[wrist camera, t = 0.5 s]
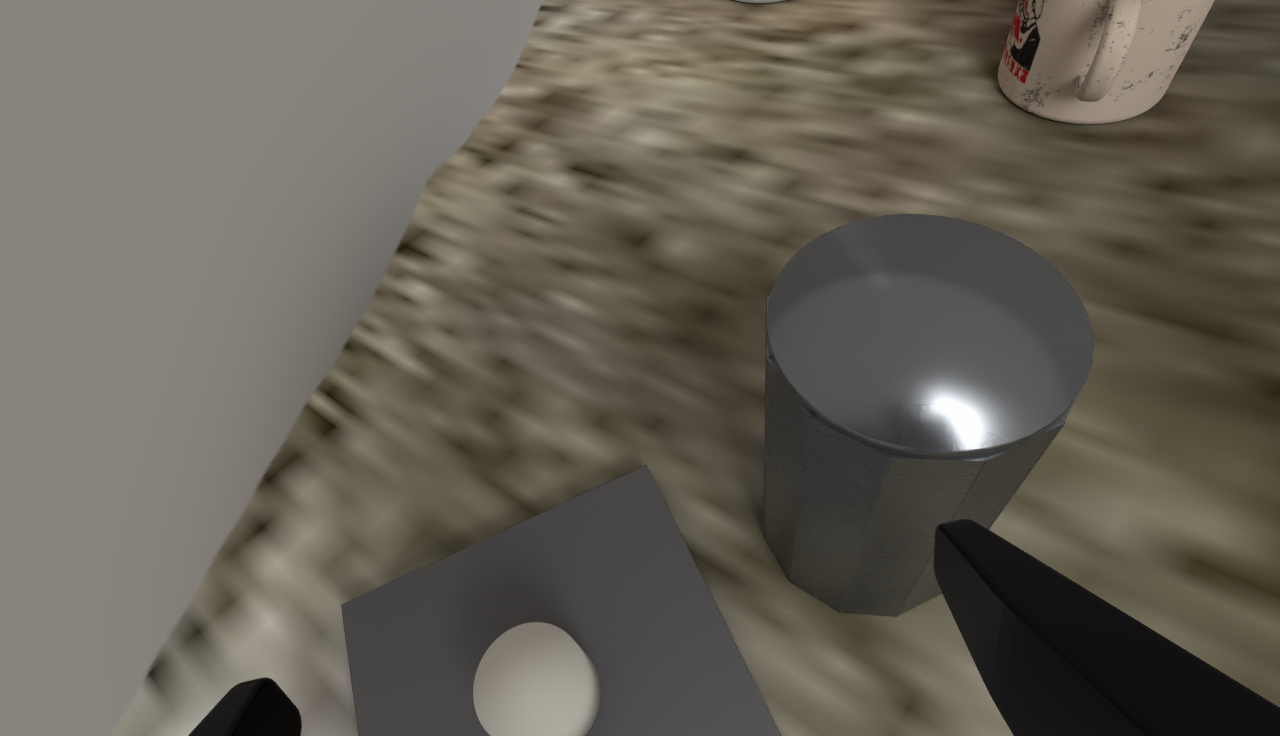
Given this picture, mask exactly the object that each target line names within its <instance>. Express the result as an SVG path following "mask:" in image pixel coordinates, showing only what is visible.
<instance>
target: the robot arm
mask: <svg viewBox="0 0 1280 736" xmlns="http://www.w3.org/2000/svg"><path fill="white" fill-rule="evenodd" d="M934 573H935V577H936V580H937V582H938V585H939V587H940V589H941V591H942V593H943V596H944V598H945V600H946V602H947V604H948V606H949V608H950V611H951V613H952V615H953V617H954V619H955V621H956V624H957V626H958V628H959V630H960V632H961V634H962V636H963V639H964V641H965V643H966V645H967V647H968V649H969V651H970V654H971V656H972V658H973V660H974V662H975V664H976V666H977V669H978V671H979V673H980V675H981V677H982V679H983V681H984V683H985V685H986V687H987V689H988V691H989V694H990V695H991V697H992V699H993V701H994V703H995V704H996V706H997V708H998V710H999V711H1000V713H1001V715H1002V717H1003V718H1004V720H1005V722H1006V723H1007V725H1008V727H1009V728H1010V730H1011V732H1012V733H1013V735H1014V736H1280V708H1279V707H1278V706H1276V705H1274V704H1273V703H1271V702H1270V701H1268V700H1266V699H1265V698H1263V697H1261V696H1260V695H1258V694H1256V693H1255V692H1253V691H1252V690H1250V689H1248V688H1247V687H1245V686H1243V685H1242V684H1240V683H1238V682H1237V681H1235V680H1234V679H1232V678H1230V677H1229V676H1227V675H1225V674H1224V673H1222V672H1220V671H1219V670H1217V669H1216V668H1214V667H1212V666H1211V665H1209V664H1207V663H1206V662H1204V661H1203V660H1201V659H1199V658H1198V657H1196V656H1194V655H1193V654H1191V653H1189V652H1188V651H1186V650H1185V649H1183V648H1181V647H1180V646H1178V645H1176V644H1175V643H1173V642H1171V641H1170V640H1168V639H1167V638H1165V637H1163V636H1162V635H1160V634H1158V633H1157V632H1155V631H1153V630H1152V629H1150V628H1149V627H1147V626H1145V625H1144V624H1142V623H1140V622H1139V621H1137V620H1135V619H1134V618H1132V617H1131V616H1129V615H1127V614H1126V613H1124V612H1122V611H1121V610H1119V609H1117V608H1116V607H1114V606H1113V605H1111V604H1109V603H1108V602H1106V601H1104V600H1103V599H1101V598H1099V597H1098V596H1096V595H1095V594H1093V593H1091V592H1090V591H1088V590H1086V589H1085V588H1083V587H1082V586H1080V585H1078V584H1077V583H1075V582H1073V581H1072V580H1070V579H1068V578H1067V577H1065V576H1064V575H1062V574H1060V573H1059V572H1057V571H1055V570H1054V569H1052V568H1050V567H1049V566H1047V565H1046V564H1044V563H1042V562H1041V561H1039V560H1037V559H1036V558H1034V557H1032V556H1031V555H1029V554H1028V553H1026V552H1024V551H1023V550H1021V549H1019V548H1018V547H1016V546H1014V545H1013V544H1011V543H1010V542H1008V541H1006V540H1005V539H1003V538H1001V537H1000V536H998V535H996V534H995V533H993V532H992V531H990V530H988V529H987V528H985V527H983V526H982V525H980V524H978V523H977V522H975V521H973V520H971V519H966V518H965V519H958V520H954V521H949V522H945V523H941V524H939V525H938V526H937V528H936V530H935V543H934ZM301 727H302V724H301V716H300V713H299V710H298V709H297V707H296V706H295V705H294V704H293V702H292V701H291V700H290V699H289V698H288V697H287V695H286V694H285V693H284V692H283V691H282V690H281V688H280V687H279V686H278V685H277V684H276V682H274V681H273V680H272V679H270V678H260V679H255V680H251V681H246V682H242V683H240V684H237V685H236V686H234V687H233V688H232V689H231V690H230V691H229V692H228V693H227V694H226V695H225V696H224V697H223V698H222V699H221V700H220V701H219V703H218V704H217V705H216V706H215V707H214V708H213V709H212V710H211V711H210V712H209V714H208V715H207V716H206V717H205V718H204V719H203V720H202V721H201V722H200V723H199V725H198V726H197V727H196V728H195V729H194V730H193V731H192V732H191V733H190V734H189V735H188V736H301Z"/></svg>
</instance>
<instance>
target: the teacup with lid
mask: <svg viewBox="0 0 1280 736" xmlns="http://www.w3.org/2000/svg"><path fill="white" fill-rule="evenodd" d="M1214 1H1215V0H1019V3H1018V6H1017V10H1016V13H1015V16H1014V19H1013V23H1012V26H1011V29H1010V32H1009V36H1008V39H1007V42H1006V45H1005V49H1004V52H1003V55H1002V59H1001V62H1000V65H999V68H998V82H999V85H1000V88H1001V89H1002V91H1003V93H1004V94H1005V95H1006V96H1007V98H1009V99H1010V100H1011V101H1012V102H1013V103H1014V104H1016V105H1017V106H1019V107H1020V108H1022V109H1024V110H1026V111H1028V112H1030V113H1032V114H1034V115H1037V116H1040V117H1043V118H1046V119H1050V120H1054V121H1059V122H1065V123H1073V124H1104V123H1112V122H1117V121H1122V120H1126V119H1129V118H1132V117H1135V116H1137V115H1139V114H1141V113H1143V112H1145V111H1147V110H1149V109H1150V108H1152V107H1153V106H1154V105H1155V104H1156V103H1158V102H1159V100H1160V99H1161V98H1162V97H1163V95H1164V94H1165V92H1166V90H1167V88H1168V86H1169V85H1170V83H1171V81H1172V79H1173V77H1174V75H1175V73H1176V71H1177V70H1178V68H1179V66H1180V64H1181V62H1182V60H1183V58H1184V57H1185V55H1186V53H1187V51H1188V49H1189V47H1190V45H1191V43H1192V42H1193V40H1194V38H1195V36H1196V34H1197V32H1198V30H1199V29H1200V27H1201V25H1202V23H1203V21H1204V19H1205V17H1206V16H1207V14H1208V12H1209V10H1210V8H1211V6H1212V4H1213V2H1214Z"/></svg>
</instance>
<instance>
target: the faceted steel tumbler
mask: <svg viewBox="0 0 1280 736" xmlns="http://www.w3.org/2000/svg"><path fill="white" fill-rule="evenodd" d="M1093 349H1094V348H1093V333H1092V329H1091V325H1090V321H1089V317H1088V314H1087V312H1086V310H1085V308H1084V306H1083V303H1082V301H1081V299H1080V298H1079V296H1078V295H1077V293H1076V292H1075V290H1074V288H1073V287H1072V286H1071V284H1070V283H1069V282H1068V281H1067V280H1066V279H1065V277H1064V276H1063V275H1062V274H1061V273H1060V272H1059V271H1058V270H1057V269H1056V268H1055V267H1054V266H1053V265H1052V264H1051V263H1049V262H1048V261H1047V260H1046V259H1045V258H1043V257H1042V256H1041V255H1039V254H1038V253H1037V252H1035V251H1034V250H1032V249H1031V248H1029V247H1028V246H1026V245H1024V244H1022V243H1021V242H1019V241H1017V240H1016V239H1014V238H1011V237H1009V236H1007V235H1005V234H1003V233H1001V232H998V231H996V230H993V229H990V228H988V227H985V226H982V225H979V224H976V223H972V222H968V221H964V220H961V219H955V218H949V217H944V216H935V215H925V214H898V215H885V216H879V217H873V218H867V219H863V220H860V221H856V222H852V223H849V224H846V225H844V226H841V227H838V228H835V229H833V230H831V231H829V232H827V233H825V234H823V235H821V236H819V237H818V238H816V239H815V240H813V241H812V242H810V243H809V244H807V245H806V246H805V247H804V248H802V249H801V250H800V251H799V252H798V253H796V254H795V255H794V257H793V258H792V259H791V260H790V261H789V262H788V263H787V264H786V265H785V267H784V268H783V270H782V271H781V273H780V274H779V276H778V278H777V280H776V282H775V284H774V286H773V288H772V291H771V295H770V296H769V297H768V298H767V300H766V373H765V460H764V538H765V539H766V541H767V543H768V544H769V546H770V548H771V549H772V551H773V553H774V555H775V556H776V558H777V560H778V561H779V563H780V565H781V567H782V568H783V570H784V572H785V573H786V575H787V577H788V579H789V580H790V582H791V583H793V584H795V585H796V586H798V587H799V588H801V589H803V590H804V591H806V592H807V593H809V594H811V595H812V596H814V597H815V598H817V599H819V600H820V601H822V602H823V603H825V604H827V605H828V606H830V607H831V608H833V609H835V610H836V611H838V612H839V613H840V612H843V613H856V614H869V615H882V616H895V617H897V616H898V615H900V614H902V613H904V612H906V611H908V610H910V609H912V608H914V607H916V606H918V605H920V604H922V603H923V602H925V601H927V600H929V599H931V598H933V597H935V596H937V595H939V594H941V593H942V591H941V589H940V587H939V585H938V582H937V580H936V577H935V573H934V543H935V530H936V528H937V526H938V525H939V524H941V523H945V522H949V521H954V520H958V519H965V518H966V519H971V520H973V521H975V522H977V523H978V524H980V525H982V526H983V527H985V528H987V529H988V530H989V529H990V527H991V526H992V524H993V523H994V522H995V520H996V519H997V517H998V516H999V515H1000V513H1001V512H1002V510H1003V509H1004V508H1005V506H1006V505H1007V504H1008V502H1009V501H1010V499H1011V498H1012V497H1013V495H1014V494H1015V492H1016V491H1017V490H1018V488H1019V487H1020V485H1021V484H1022V483H1023V481H1024V480H1025V478H1026V477H1027V476H1028V474H1029V473H1030V472H1031V470H1032V469H1033V467H1034V466H1035V465H1036V463H1037V462H1038V460H1039V459H1040V458H1041V456H1042V455H1043V453H1044V452H1045V451H1046V449H1047V448H1048V446H1049V445H1050V444H1051V442H1052V441H1053V440H1054V438H1055V437H1056V435H1057V434H1058V433H1059V431H1060V430H1061V428H1062V427H1063V426H1064V424H1065V420H1066V418H1067V416H1068V414H1069V412H1070V410H1071V407H1072V405H1073V403H1074V401H1075V399H1076V397H1077V396H1078V394H1079V392H1080V391H1081V389H1082V387H1083V385H1084V384H1085V382H1086V380H1087V377H1088V374H1089V371H1090V368H1091V365H1092V363H1093V359H1092V357H1093Z"/></svg>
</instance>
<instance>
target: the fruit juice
mask: <svg viewBox="0 0 1280 736" xmlns="http://www.w3.org/2000/svg"><path fill="white" fill-rule="evenodd" d="M735 1H739V2H745V3H774V2H780V1H785V0H735Z"/></svg>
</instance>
